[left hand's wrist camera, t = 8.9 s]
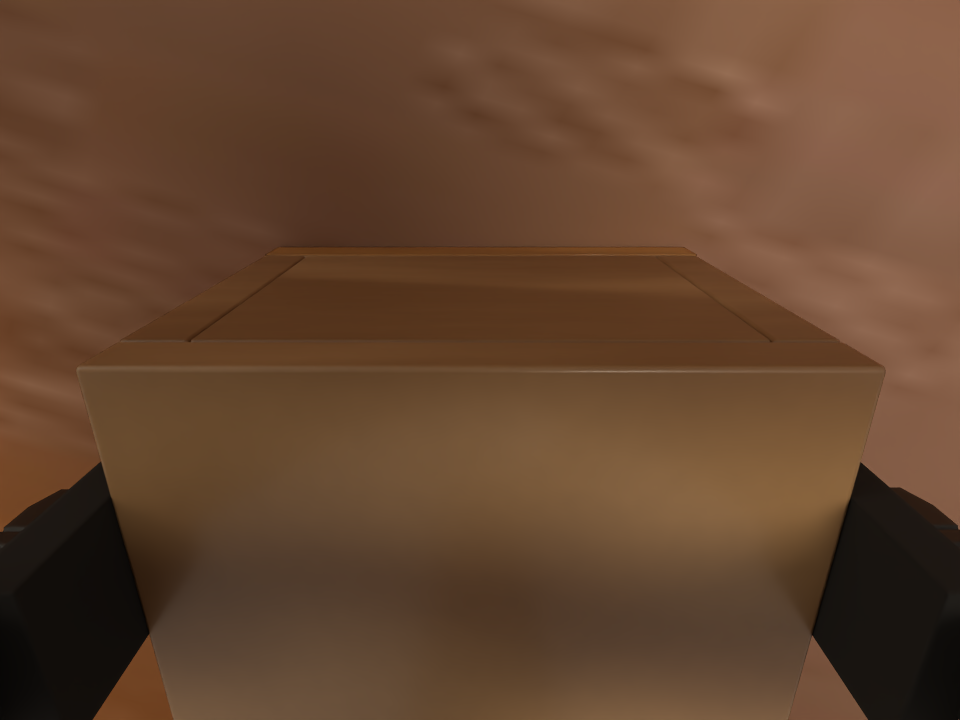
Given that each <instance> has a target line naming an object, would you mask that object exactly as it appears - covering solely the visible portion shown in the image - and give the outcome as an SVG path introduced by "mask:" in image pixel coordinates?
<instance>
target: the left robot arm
mask: <svg viewBox="0 0 960 720" xmlns="http://www.w3.org/2000/svg"><path fill="white" fill-rule="evenodd" d="M148 635H149V631H148V627H147V624H146V620H145V616H144V613H143V609H142V606H141V602H140V599H139V595H138V591H137V588H136V584H135V581H134V577H133V574H132V570H131V566H130V563H129V559H128V556H127V552H126V549H125V545H124V541H123V538H122V534H121V531H120V527H119V524H118V520H117V517H116V513H115V509H114V506H113V502H112V499H111V495H110V492H109V488H108V484H107V481H106V477H105V474H104V470H103V467H102V463H101V462H100V463H99V464H98V465H96V466H95V467H94V468H93V469H92V470H91V471H90V472H88V473H87V474H86V475H85V476H84V477H83V478H81V479H80V480H79V481H78V482H77V483H76V484H75V485H73V486H72V487H71V488H70V489H61V490H59V491H58V492H56V493H54V494H52V495H50V496H48V497H46V498H45V499H43V500H41V501H39V502H37V503H35V504H33V505H31V506H30V507H28V508H27V509H26V510H24V511H23V512H22V513H21V514H20V515H18V516H17V517H16V518H15V519H14V520H12V521H11V522H10V523H9V524H8V525H6V526H5V527H4V531H3V532H0V720H93V718H94V717H95V715H96V714H97V712H98V711H99V709H100V708H101V706H102V704H103V703H104V701H105V700H106V698H107V697H108V695H109V694H110V692H111V691H112V689H113V688H114V686H115V685H116V683H117V682H118V680H119V679H120V677H121V676H122V674H123V673H124V671H125V670H126V668H127V667H128V665H129V664H130V662H131V660H132V659H133V657H134V656H135V654H136V653H137V651H138V650H139V648H140V647H141V645H142V644H143V642H144V641H145V639H146V638H147V636H148ZM812 635H813V637H814V638H815V640H816V641H817V643H818V644H819V646H820V647H821V649H822V650H823V652H824V653H825V655H826V656H827V658H828V659H829V661H830V663H831V664H832V666H833V667H834V669H835V670H836V672H837V673H838V675H839V676H840V678H841V679H842V681H843V682H844V684H845V685H846V687H847V688H848V690H849V691H850V693H851V694H852V696H853V697H854V699H855V700H856V702H857V703H858V705H859V707H860V708H861V710H862V711H863V713H864V714H865V716H866V717H867V719H868V720H958V719H959V720H960V530H959V529H958V525H956V524H955V523H954V522H953V521H952V520H950V519H949V518H948V517H947V516H946V515H944V514H943V513H942V512H941V511H939V510H938V509H937V508H936V507H935V506H933V505H932V504H930V503H928V502H926V501H924V500H922V499H921V498H919V497H917V496H915V495H913V494H911V493H909V492H907V491H906V490H904V489H902V488H890V487H888V486H887V485H886V484H885V483H884V482H883V481H882V480H880V479H879V478H878V477H877V476H876V475H875V474H874V473H872V472H871V471H870V470H869V469H868V468H867V467H865V466H864V465H863V464H862V463H861V462H860V465H859V469H858V472H857V476H856V480H855V483H854V487H853V490H852V494H851V497H850V501H849V505H848V508H847V512H846V515H845V519H844V522H843V526H842V530H841V533H840V537H839V540H838V544H837V547H836V551H835V555H834V558H833V562H832V565H831V569H830V572H829V576H828V579H827V583H826V587H825V590H824V594H823V597H822V601H821V604H820V608H819V612H818V615H817V619H816V622H815V626H814V629H813V633H812Z"/></svg>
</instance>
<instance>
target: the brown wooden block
mask: <svg viewBox="0 0 960 720" xmlns="http://www.w3.org/2000/svg"><path fill="white" fill-rule="evenodd" d="M76 374H77V377H78V381H79V384H80V388H81V392H82V395H83V399H84V402H85V406H86V409H87V413H88V417H89V420H90V424H91V427H92V431H93V434H94V438H95V442H96V445H97V449H98V452H99V456H100V459H101V463H102V467H103V470H104V474H105V477H106V481H107V484H108V488H109V492H110V495H111V499H112V502H113V506H114V509H115V513H116V517H117V520H118V524H119V527H120V531H121V534H122V538H123V541H124V545H125V549H126V552H127V556H128V559H129V563H130V566H131V570H132V574H133V577H134V581H135V584H136V588H137V591H138V595H139V599H140V602H141V606H142V609H143V613H144V616H145V620H146V624H147V627H148V631H149V634H150V638H151V641H152V645H153V649H154V652H155V656H156V659H157V663H158V666H159V670H160V674H161V677H162V681H163V684H164V688H165V691H166V695H167V699H168V702H169V706H170V709H171V713H172V716H173V720H788V719H789V715H790V712H791V708H792V704H793V701H794V697H795V694H796V690H797V687H798V683H799V679H800V676H801V672H802V669H803V665H804V662H805V658H806V654H807V651H808V647H809V644H810V640H811V637H812V633H813V629H814V626H815V622H816V619H817V615H818V612H819V608H820V604H821V601H822V597H823V594H824V590H825V587H826V583H827V579H828V576H829V572H830V569H831V565H832V562H833V558H834V555H835V551H836V547H837V544H838V540H839V537H840V533H841V530H842V526H843V522H844V519H845V515H846V512H847V508H848V505H849V501H850V497H851V494H852V490H853V487H854V483H855V480H856V476H857V472H858V469H859V465H860V462H861V458H862V455H863V451H864V447H865V444H866V440H867V437H868V433H869V430H870V426H871V422H872V419H873V415H874V412H875V408H876V405H877V401H878V397H879V394H880V390H881V387H882V383H883V380H884V376H885V368H884V366H882V365H880V364H879V363H877V362H875V361H874V360H872V359H870V358H869V357H867V356H865V355H863V354H862V353H860V352H858V351H857V350H855V349H853V348H851V347H850V346H848V345H846V344H844V343H840V341H839V340H838V339H836V338H835V337H833V336H831V335H830V334H828V333H826V332H824V331H823V330H821V329H819V328H818V327H816V326H814V325H813V324H811V323H809V322H807V321H806V320H804V319H802V318H801V317H799V316H797V315H795V314H794V313H792V312H790V311H789V310H787V309H785V308H784V307H782V306H780V305H778V304H777V303H775V302H773V301H772V300H770V299H768V298H766V297H765V296H763V295H761V294H760V293H758V292H756V291H755V290H753V289H751V288H749V287H748V286H746V285H744V284H743V283H741V282H739V281H737V280H736V279H734V278H732V277H731V276H729V275H727V274H726V273H724V272H722V271H720V270H719V269H717V268H715V267H714V266H712V265H710V264H708V263H707V262H705V261H703V260H702V259H700V258H698V257H697V254H695V253H693V252H691V251H690V250H688V249H686V248H684V247H278V248H276V249H274V250H273V251H271V252H269V253H267V254H266V255H265V257H263V258H261V259H260V260H258V261H256V262H255V263H253V264H251V265H249V266H248V267H246V268H244V269H242V270H241V271H239V272H237V273H236V274H234V275H232V276H230V277H229V278H227V279H225V280H223V281H222V282H220V283H218V284H217V285H215V286H213V287H211V288H210V289H208V290H206V291H205V292H203V293H201V294H199V295H198V296H196V297H194V298H192V299H191V300H189V301H187V302H186V303H184V304H182V305H180V306H179V307H177V308H175V309H173V310H172V311H170V312H168V313H167V314H165V315H163V316H161V317H160V318H158V319H156V320H155V321H153V322H151V323H149V324H148V325H146V326H144V327H142V328H141V329H139V330H137V331H136V332H134V333H132V334H130V335H129V336H127V337H125V338H123V339H122V340H121V341H120V342H119V343H117V344H115V345H113V346H111V347H109V348H108V349H106V350H104V351H103V352H101V353H99V354H97V355H96V356H94V357H92V358H91V359H89V360H87V361H85V362H84V363H82V364H80V365H79V366H78V367H77V368H76Z"/></svg>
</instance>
